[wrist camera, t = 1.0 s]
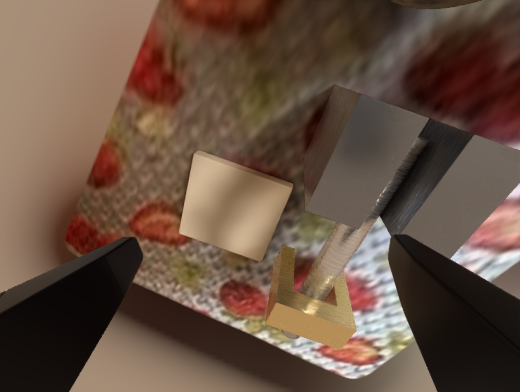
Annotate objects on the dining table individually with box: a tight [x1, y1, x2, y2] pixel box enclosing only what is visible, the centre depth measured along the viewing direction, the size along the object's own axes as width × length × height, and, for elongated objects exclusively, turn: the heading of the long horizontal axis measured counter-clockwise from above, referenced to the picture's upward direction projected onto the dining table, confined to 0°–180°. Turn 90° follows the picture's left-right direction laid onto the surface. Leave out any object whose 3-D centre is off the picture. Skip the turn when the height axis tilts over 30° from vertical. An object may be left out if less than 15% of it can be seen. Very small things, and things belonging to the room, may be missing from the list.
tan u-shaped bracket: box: [265, 245, 356, 350], centre depth 20 cm, size 6×2×6 cm, turn 72°
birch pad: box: [179, 150, 293, 262], centre depth 24 cm, size 9×9×1 cm
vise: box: [281, 85, 520, 339], centre depth 19 cm, size 8×19×9 cm, turn 162°
